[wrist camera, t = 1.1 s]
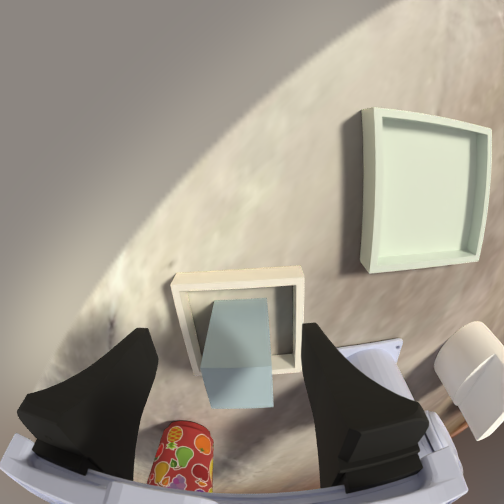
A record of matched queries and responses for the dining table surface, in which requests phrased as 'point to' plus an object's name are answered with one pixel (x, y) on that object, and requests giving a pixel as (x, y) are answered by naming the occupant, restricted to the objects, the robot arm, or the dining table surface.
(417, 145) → the tray
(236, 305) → the block
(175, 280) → the holder
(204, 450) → the smoothie
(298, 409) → the dining table surface
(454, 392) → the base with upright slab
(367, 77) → the dining table surface
